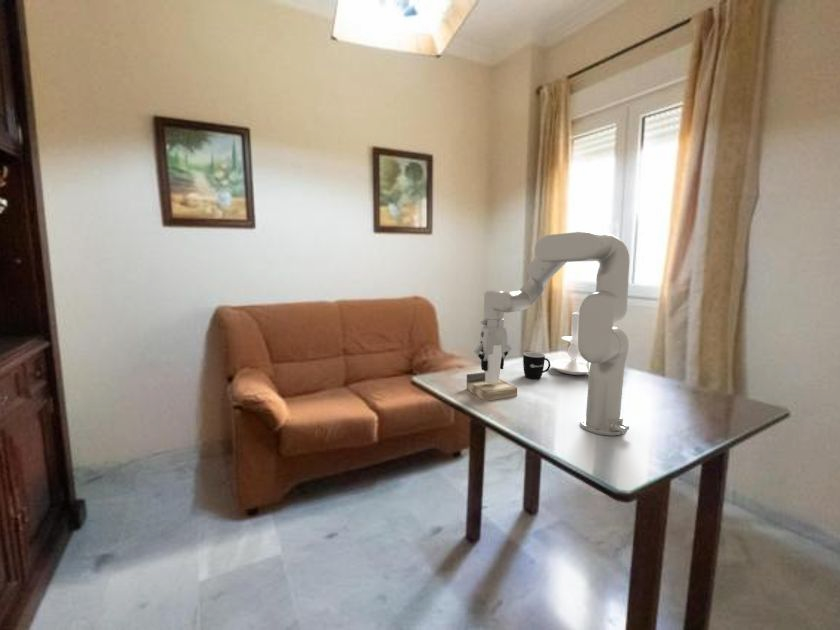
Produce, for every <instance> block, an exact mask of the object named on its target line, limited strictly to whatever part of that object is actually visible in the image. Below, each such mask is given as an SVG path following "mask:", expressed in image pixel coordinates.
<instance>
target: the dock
mask: <svg viewBox="0 0 840 630" xmlns="http://www.w3.org/2000/svg"><path fill="white" fill-rule="evenodd" d="M466 390H467V391H469V392H470V393H472V394H473V395H475V396H477V397H478V398H480V399H482V400H483V401H484V402H485V401H492V400H493V401H494V400H499V399H506V398H507V399H508V398H512V397H518V387H516V386H515V385H512V384H510V383H508V382H507V381H504V380H502V379H500V378H499V382H498V383H487V382H486V381H485V371H483V372H476V373H469V374H468V373H467V374H466Z"/></svg>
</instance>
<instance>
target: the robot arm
mask: <svg viewBox="0 0 840 630" xmlns="http://www.w3.org/2000/svg"><path fill="white" fill-rule="evenodd" d="M534 253H535V257H534V258H533V259H532V261H531V262H530V263H529V264H528V265H527V267H526V272H527V273H526V274H527V275H528V276H529V278H528V280H527V281H526V282H525V284H523V286H522V287H520V289H518V290H510V291H502V290H498V289H494V290H493V289H489V290H486V291H485V292H484V297H483V320H481V321H480V324H481V325H483V326H482V327H481V330H480V336H479V345H478V346H477V347H476V348H475V349H474V351H473V352H474V354H475V355H476V357H478V358H479V360H480V361H481V362H480V368H481V370H482V371H483V372H485V371H487V365H488V362H487V361H486V359H487V357H488V354H493V348H494V347H493V346H494V345H501V353H502V358H501V366H500V370H503V369H504V365H505V359H506V357H507V356H508V354H509V353H510V351H511V350H512V347H511V346H510V345H509V344H508V332H507V327H506V326H505V314H507V313H508V314H510V313H515V312H520V311H521V312H522V311H525V310H526V309H529V308H530V307H531V306H532V305H533V304H534V303H536V301H537V300H538V299H539V298H540V297H541V296H542V294H543V292H544V291H545V288H546V286H547V283H548V282H549V281H550V280H551V279H552V278H553V277H554V276H555V275H556V274H557V272H559V270H561V268H562V267H564V266H565V265H566V263H569V262H571V263H573V262H598V263H599V267H598V271H597V274H596V279H595V280H596V285H595V292H593V293H591V294H588V295H587V296H585V298H584V299H583V301H582V303H581V304H580V307H579V311H578V312H579V328H578V348H579V352H580V356H581V357H582V359H583V360H585V362H590V363H591V364H590V370H589V375H588V381H587V382H588V384H587V386H588V387H587V399H586V400H587V401H586V410H585V411H586V413H585V414H586V415H585V416H583V417H582V418H580V420H579V421H580V422H579V423H580V426H581V427H582V428H583V429H584V430H586V431H588V432H590V433H593V434H597V435H601V436H610V437H611V436H613V437H614V436H615V437H616V436H619V435H626V434H627V433H628V431H629V430H630V426H629V425H627V424H624V423H623V421H624V418H623V417H621V410H622V409H621V408H622V397H623V396H622V395H623V385H624V375H625V367H626V361H627V357H628V352H629V342H630V341H629V339H628V336H627V334H626V333H625V331H624V330H622V329H621V328H619V327H617V326H614V323H616V322H618V321H621V320H623V318H624V317H625V316H626V314H627V311H628V298H629V297H628V295H629V277H630V276H629V275H630V274H629V273H630V253H629V249H628V247H627V246H626V244H625V243H624V242H623V240H621V239H620V238H618V237H617V236H615V235H613V234H610V233H606V232H601V231H598V232H597V231H576V232H567V233H565V232H564V233H555V234H546V235H544V236H542V237H540V239H538V241H536V243H535V247H534ZM484 354H485V355H484Z"/></svg>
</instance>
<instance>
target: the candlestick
mask: <svg viewBox="0 0 840 630" xmlns="http://www.w3.org/2000/svg"><path fill="white" fill-rule="evenodd" d="M570 324H571V328H570V335H569V336H568V335H567V336H566V335H565V336H561V339H562V340H564V341H567V342H569V343H570V345H569V346H568V348H567V349H566V350H567V351H566V352H567V355H568V357H569V358H570V359H555V360H553V361H550V367H551V368H554V369H555V370H557V371H558V372H560V373H563V374H568V375H572V376H573V375H574V376H575V375H576V376H583V375H587V376H589V370H590V364H591V363H590V362H588V361H582V360H577V358H579V357H580V356H581V354H580V352H579V348H578V328H579V311H574V312H572V314H571V323H570Z"/></svg>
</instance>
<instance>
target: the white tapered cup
mask: <svg viewBox="0 0 840 630" xmlns="http://www.w3.org/2000/svg"><path fill="white" fill-rule="evenodd" d="M493 347H494V348H493V354H488V357H487V359H486V361H487V362H488V365H487V371H484V372H485V381H486V382H487V383H498V382H499V379H500V373H501V369H500V366H501V358H502V353H501V345H494V346H493ZM484 355H485V354H484Z"/></svg>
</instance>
